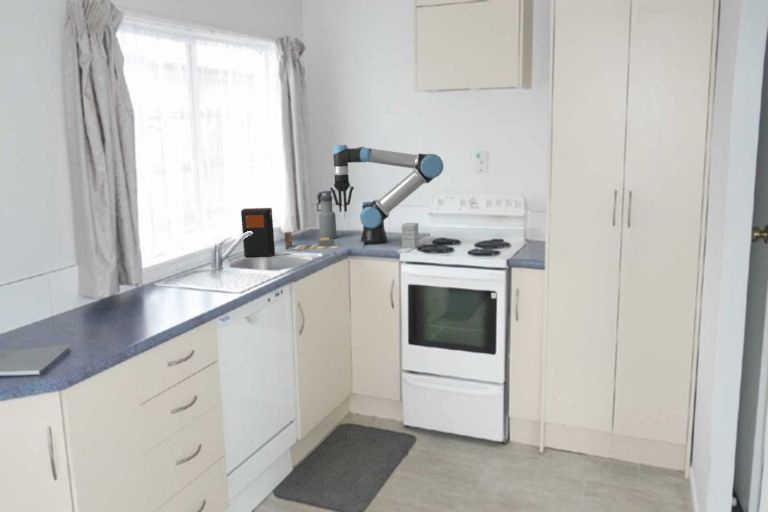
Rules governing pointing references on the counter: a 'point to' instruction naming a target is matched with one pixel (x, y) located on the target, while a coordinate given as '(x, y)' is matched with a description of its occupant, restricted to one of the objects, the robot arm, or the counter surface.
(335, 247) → the plywood panel
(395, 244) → the counter surface
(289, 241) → the peg
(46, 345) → the counter surface
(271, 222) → the voltmeter
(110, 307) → the counter surface
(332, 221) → the water bottle
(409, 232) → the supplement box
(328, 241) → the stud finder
